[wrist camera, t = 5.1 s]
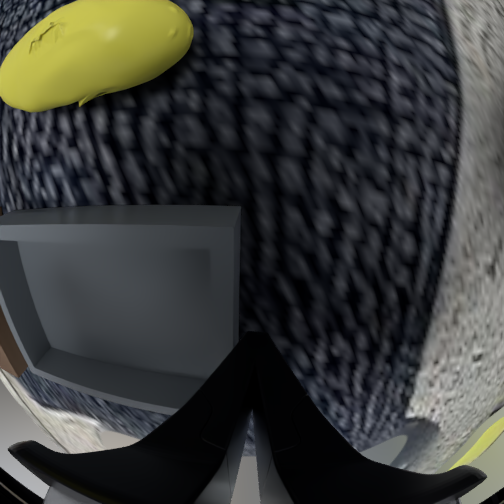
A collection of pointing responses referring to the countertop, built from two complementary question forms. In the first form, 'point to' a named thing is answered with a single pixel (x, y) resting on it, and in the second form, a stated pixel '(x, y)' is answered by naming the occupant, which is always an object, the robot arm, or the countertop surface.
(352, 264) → the countertop surface
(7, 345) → the rail
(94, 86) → the lemon
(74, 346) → the tray
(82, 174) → the countertop surface
